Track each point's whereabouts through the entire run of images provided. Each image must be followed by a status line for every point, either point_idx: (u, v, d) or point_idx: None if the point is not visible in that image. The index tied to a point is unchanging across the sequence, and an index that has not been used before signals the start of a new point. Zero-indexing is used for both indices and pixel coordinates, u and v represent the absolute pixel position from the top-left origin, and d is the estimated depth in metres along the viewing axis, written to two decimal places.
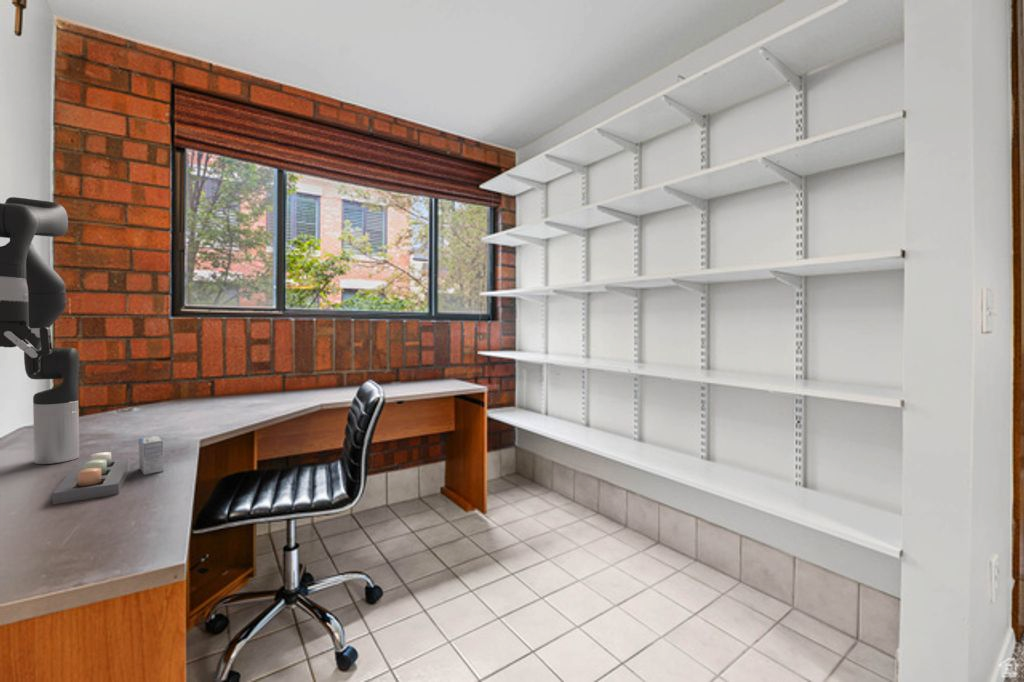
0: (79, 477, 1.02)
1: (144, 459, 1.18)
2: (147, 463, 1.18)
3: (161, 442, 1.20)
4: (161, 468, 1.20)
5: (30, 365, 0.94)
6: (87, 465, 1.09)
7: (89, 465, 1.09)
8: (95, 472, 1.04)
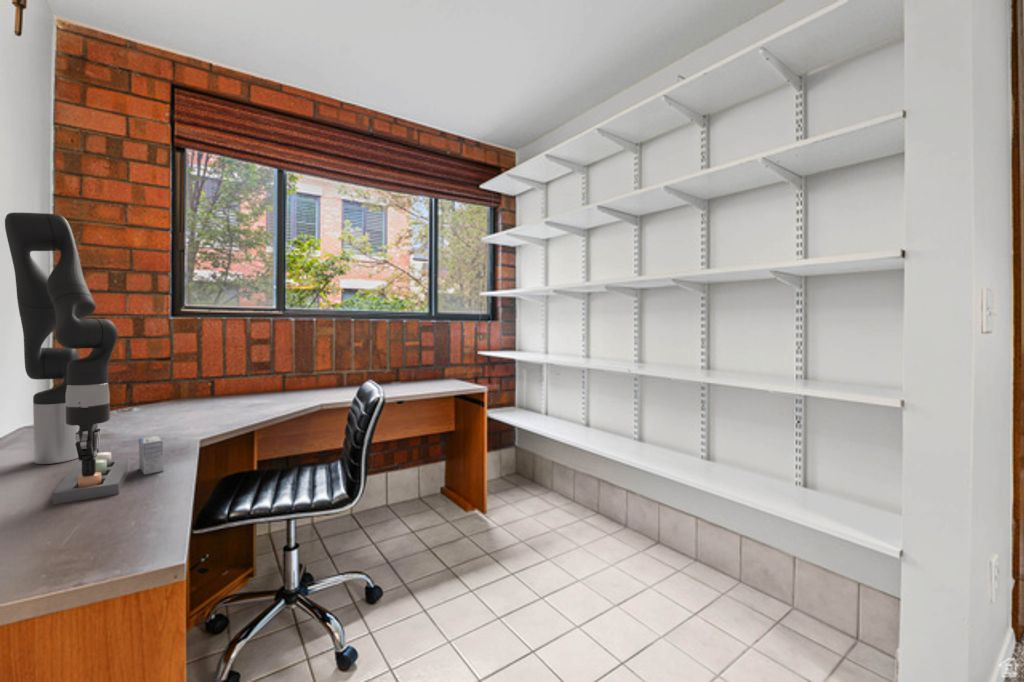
0: (79, 482, 1.02)
1: (144, 459, 1.18)
2: (147, 463, 1.18)
3: (161, 442, 1.20)
4: (161, 468, 1.20)
5: (95, 465, 1.05)
6: None
7: None
8: (95, 477, 1.04)
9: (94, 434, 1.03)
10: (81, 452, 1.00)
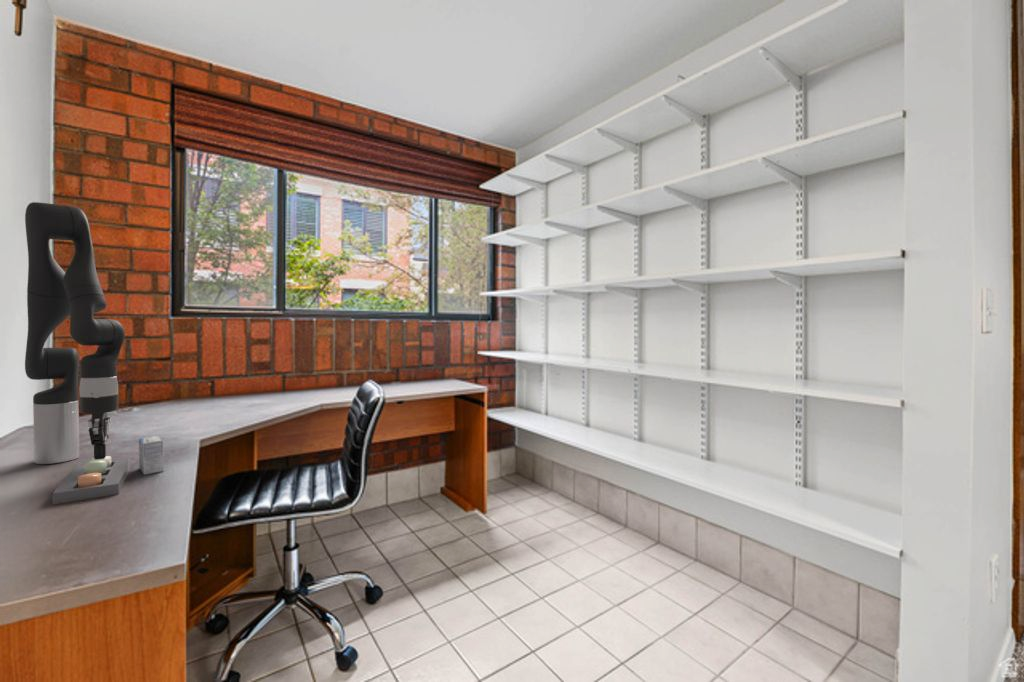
0: (79, 482, 1.02)
1: (144, 459, 1.18)
2: (147, 463, 1.18)
3: (161, 442, 1.20)
4: (161, 468, 1.20)
5: (105, 449, 1.18)
6: (87, 465, 1.09)
7: (89, 465, 1.09)
8: (95, 477, 1.04)
9: (105, 421, 1.16)
10: (93, 437, 1.12)
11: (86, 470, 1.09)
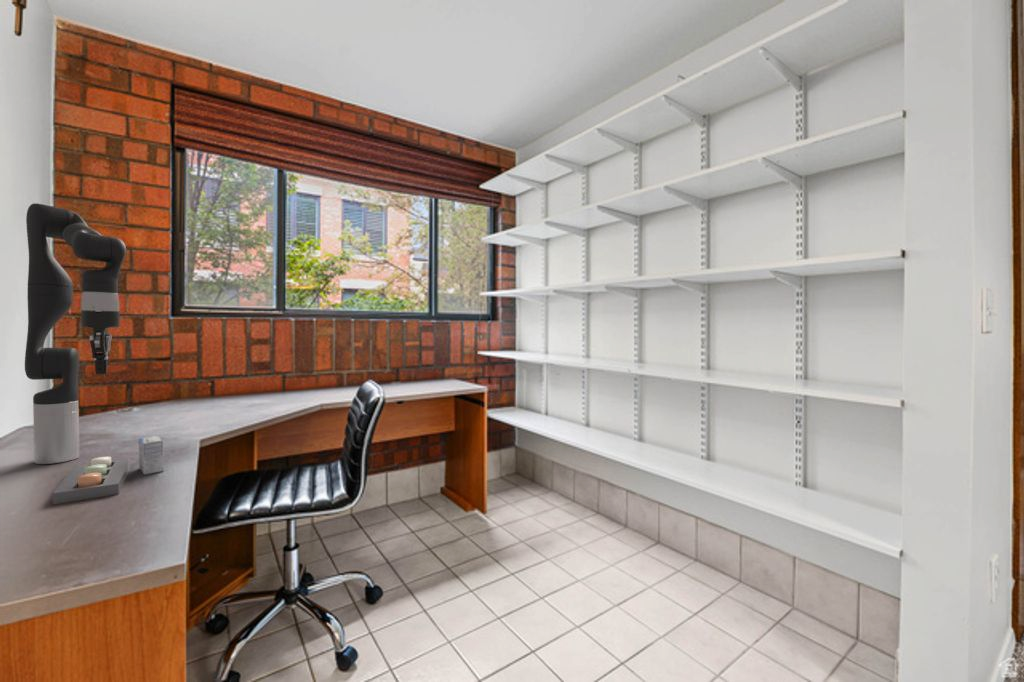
0: (79, 482, 1.02)
1: (144, 459, 1.18)
2: (147, 463, 1.18)
3: (161, 442, 1.20)
4: (161, 468, 1.20)
5: (106, 365, 1.19)
6: (87, 470, 1.09)
7: (89, 470, 1.09)
8: (95, 477, 1.04)
9: (106, 337, 1.17)
10: (95, 350, 1.14)
11: None
